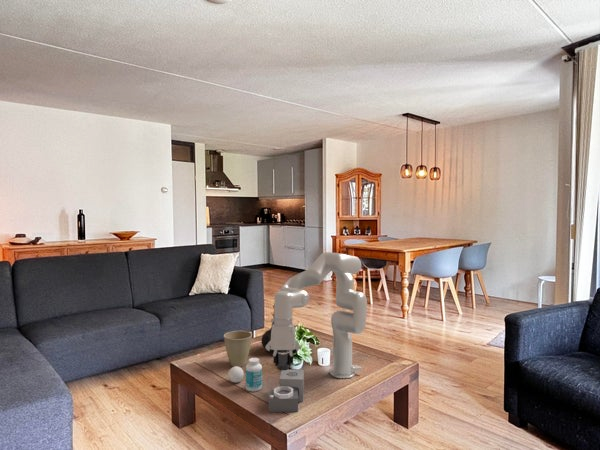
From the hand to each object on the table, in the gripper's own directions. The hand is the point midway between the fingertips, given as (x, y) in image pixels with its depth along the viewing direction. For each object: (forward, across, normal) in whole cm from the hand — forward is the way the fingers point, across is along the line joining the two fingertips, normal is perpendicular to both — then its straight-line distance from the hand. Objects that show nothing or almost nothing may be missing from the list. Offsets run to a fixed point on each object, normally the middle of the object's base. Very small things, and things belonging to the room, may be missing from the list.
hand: (282, 364), depth 161 cm
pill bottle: (+18, -14, +18) cm, 29 cm away
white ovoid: (+18, -24, +26) cm, 39 cm away
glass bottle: (+18, -5, +64) cm, 67 cm away
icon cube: (+18, +4, +10) cm, 21 cm away
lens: (+2, 0, 0) cm, 2 cm away
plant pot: (+18, -25, +46) cm, 55 cm away
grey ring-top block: (+18, 0, 0) cm, 18 cm away
